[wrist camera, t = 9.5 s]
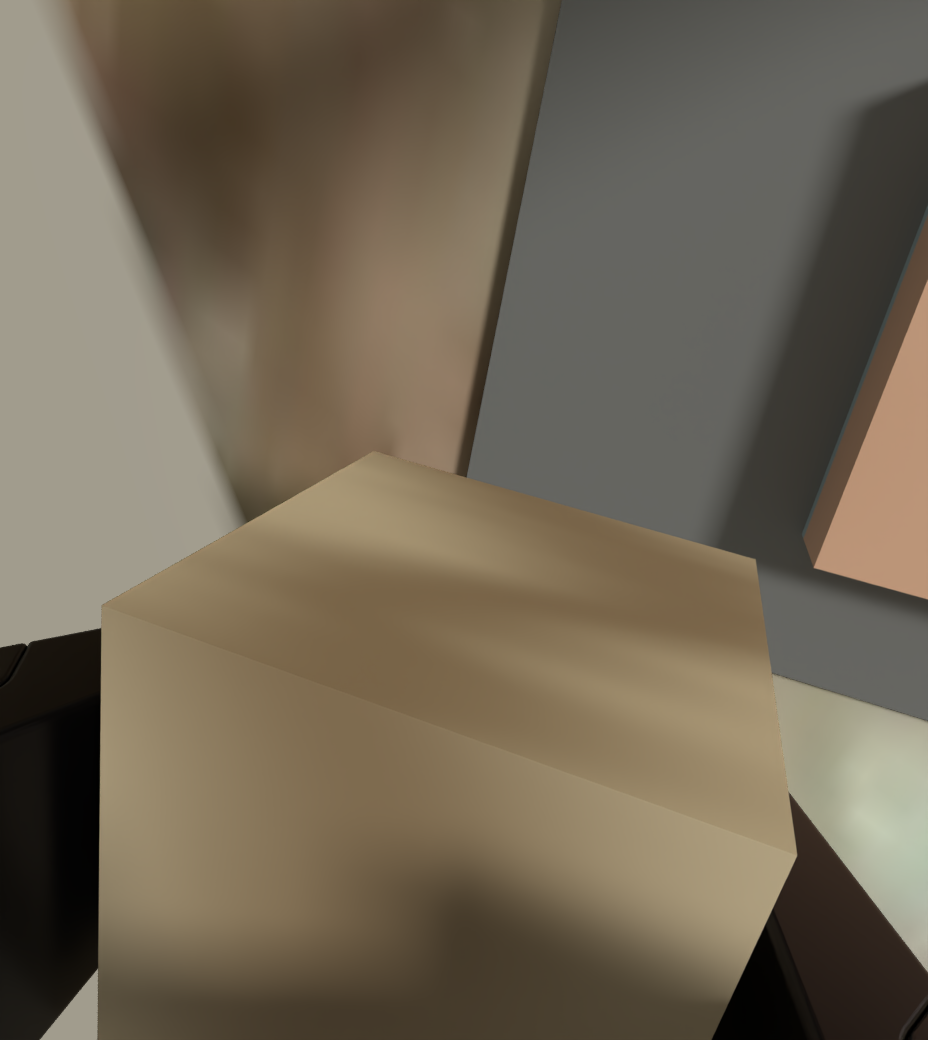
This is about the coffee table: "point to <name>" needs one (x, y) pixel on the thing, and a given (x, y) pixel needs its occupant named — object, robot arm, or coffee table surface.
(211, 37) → the coffee table surface
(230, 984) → the cube
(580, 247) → the mat
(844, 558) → the tile
